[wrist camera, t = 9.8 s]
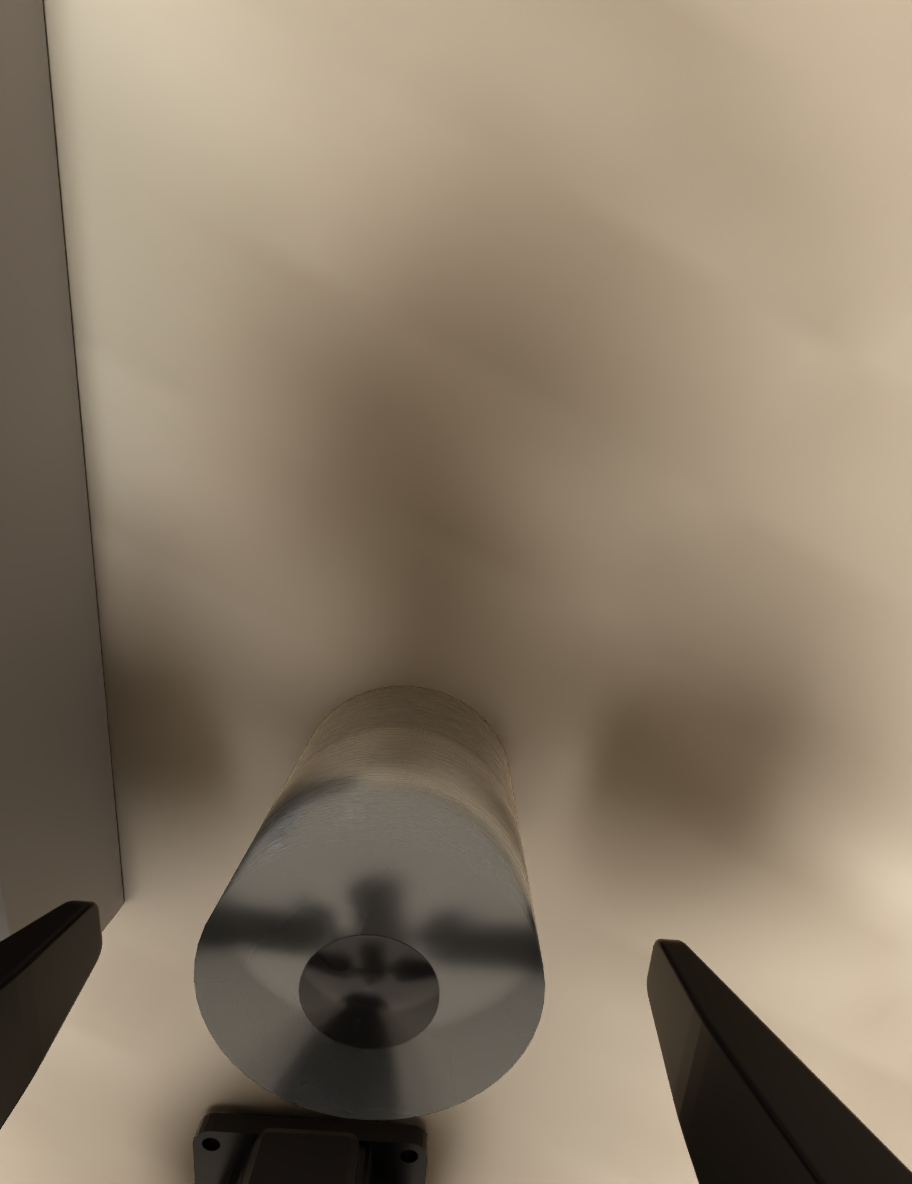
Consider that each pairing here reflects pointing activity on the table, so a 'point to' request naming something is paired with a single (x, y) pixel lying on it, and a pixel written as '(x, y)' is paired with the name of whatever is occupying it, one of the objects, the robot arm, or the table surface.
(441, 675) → the table surface
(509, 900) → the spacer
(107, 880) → the kitchen scale
